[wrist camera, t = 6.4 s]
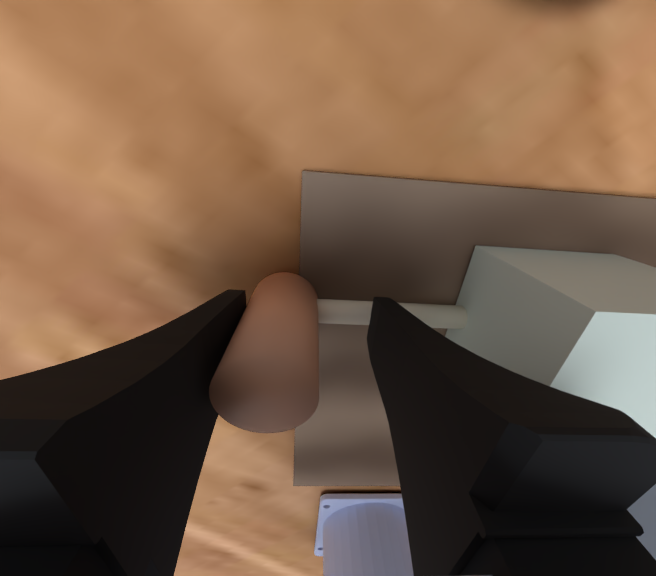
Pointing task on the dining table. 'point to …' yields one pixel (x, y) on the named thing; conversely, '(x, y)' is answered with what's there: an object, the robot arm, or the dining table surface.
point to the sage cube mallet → (463, 334)
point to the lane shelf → (420, 282)
